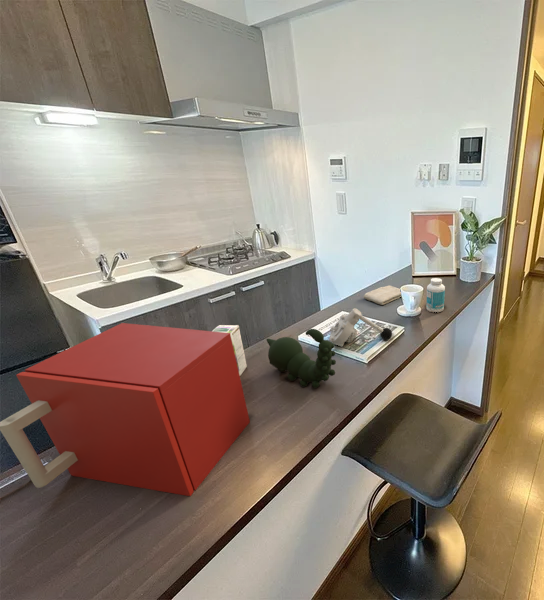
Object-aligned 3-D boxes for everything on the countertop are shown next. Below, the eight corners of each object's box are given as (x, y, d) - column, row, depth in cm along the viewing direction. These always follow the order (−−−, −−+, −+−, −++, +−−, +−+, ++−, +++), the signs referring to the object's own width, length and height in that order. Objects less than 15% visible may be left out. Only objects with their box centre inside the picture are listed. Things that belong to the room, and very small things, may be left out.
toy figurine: (342, 385, 94) (281, 354, 104) (342, 329, 85) (276, 301, 96) (319, 405, 86) (256, 369, 97) (317, 345, 78) (248, 313, 89)
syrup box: (219, 378, 94) (208, 333, 88) (229, 366, 99) (219, 323, 93) (239, 378, 94) (229, 333, 88) (247, 366, 99) (239, 324, 94)
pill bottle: (446, 308, 140) (448, 278, 135) (440, 314, 134) (442, 283, 129) (429, 304, 143) (431, 275, 138) (423, 311, 137) (424, 281, 132)
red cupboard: (195, 490, 62) (159, 386, 52) (77, 470, 65) (24, 369, 56) (250, 422, 78) (230, 332, 68) (153, 409, 82) (122, 322, 72)
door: (163, 529, 55) (116, 419, 46) (35, 504, 59) (-34, 398, 49) (194, 491, 61) (158, 388, 52) (76, 471, 65) (22, 371, 56)
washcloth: (408, 295, 153) (408, 289, 152) (382, 306, 141) (382, 300, 139) (389, 289, 160) (389, 283, 159) (363, 299, 148) (362, 293, 146)
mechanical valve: (327, 329, 115) (353, 299, 112) (366, 352, 123) (392, 324, 119) (326, 345, 106) (355, 313, 103) (368, 369, 114) (396, 340, 110)
